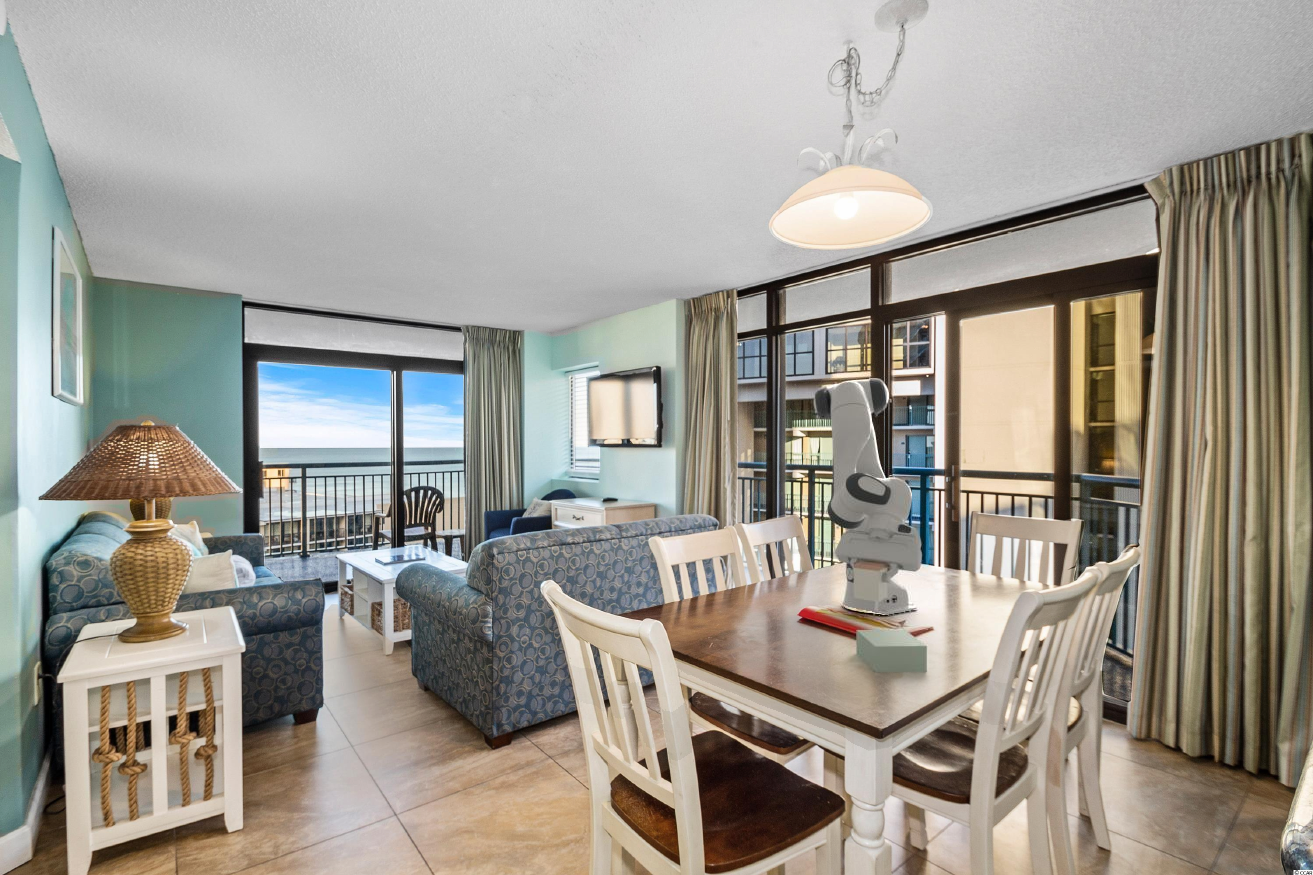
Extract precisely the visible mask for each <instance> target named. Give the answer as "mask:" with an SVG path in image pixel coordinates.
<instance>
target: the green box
mask: <svg viewBox="0 0 1313 875" xmlns="http://www.w3.org/2000/svg"><path fill="white" fill-rule="evenodd" d="M855 635H856V646H855V647H856V648H855V649H856V655H858V657H859V658H860V659H861V660H862V661H864V663H866V664H867V665H868V666H869V668H871V670H872V671H873V672H874V673H922V672H923V673H926V672H927V671H928V661H927V660H928V646H927V645H926V644H925V643H923V642H922V641H921V640H920V639H918V638H917V637H916V636H914V635H912V634H911V633H909V632H908V631H907V630H906V629H856V634H855Z"/></svg>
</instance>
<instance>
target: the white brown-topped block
mask: <svg viewBox="0 0 1313 875" xmlns="http://www.w3.org/2000/svg"><path fill="white" fill-rule="evenodd" d="M883 572H884V573H887V564H886V563H878V562H870V561H861V562H858V563H856V564H854V598H858V599H864V600H871V601H877V602H879V601H881V600H883V599H884V598H886V597H887V583H886V582H883V580H882V576H883Z"/></svg>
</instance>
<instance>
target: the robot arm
mask: <svg viewBox="0 0 1313 875" xmlns="http://www.w3.org/2000/svg"><path fill="white" fill-rule="evenodd" d="M889 397H890V394H889V389H888V387H887V385H886V384H885V382H884V381H883V380H882V379H881V378H874V377H873V378H870V377H869V379H855V380H854V379H853V380H847V381H842V382H840V383H835V384H832V385H829V386H827V385H826V386H823V387H820V388H818V389H817V390H816V391H815V393H814V398H813V407H814V410H815V413H817V415H818V417H819V418H821V419H822V420H828V421H829V420H830V423H831V437H832V438H831V440H832V494H831V498H830V499H829V502H828V503H827V504H828V505H827V507H826V508H827V514H828V516H829V518H830V519H831V521H832V522H833V524H835V525H837V526H838V527H840V528H843V529H845V531H844V532H843V533H842V535H841V536H840V540H839V542H838V543H837V546H836V548H835V551H834V553H835V556H836V559H837V560H838V562H840V563H845V575H846V576H845V577H846V586H845V592H844V593H845V594H844V598H843V601H842V604H843V605H845V606H848V607H852V608H856V609H861V610H866V611H872V612H875V613H881V614H885V615H888V616H890V615H889V614H893V615H895V614H894V613H899V612H904V611H909V612H911V611H910V610H914V609H917V608H918V607H917V606H916V605H915V604H914V603H912V602H911V601H909V594H908V592H907V589H906V587H904V585H901V583H900V582H898V581H897V580H896V579H895V578H893V577H895V576H896V575H897V574H898V573H899V570H900V571H907V572H914V573H915V572H917V571H919V570H920V569H921V566H922V559H923V558H922V557H923V552H922V550H921V547H922V539H921V537H920V534H919V531H918V530H917V529H916V527H913V526H911V525H908V524H906V521H907V519H908V518H909V515H910V510H911V507H912V501H913V500H912V499H913V494H912V490H911V487H910V486H909V484H908V483H907V482H905V481H904V480H902V479H900V478H898V477H887V478H886V476H885V473H884V471H883V469H882V468H883V467H882V466H881V461H880V458H879V452H878V445H877V439H876V432H875V429H874V424H873V421H872V420H873V419H872V414H873V413H874V415H875V418H877V417H879V416H878V414H880V413H881V412H883V411H885V409H886V408H887V406H888V403H889V399H890V398H889ZM861 561H870V562H878V563H886V564H887V573H884V572H883V576H882V580H883V582H886V583H887V597H886V598H884V599H883V600H881V601H879V602H877V601H871V600H864V599H858V598H854V564H856V563H858V562H861ZM917 610H918V609H917ZM904 613H905V612H904ZM899 614H900V613H899Z"/></svg>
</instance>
